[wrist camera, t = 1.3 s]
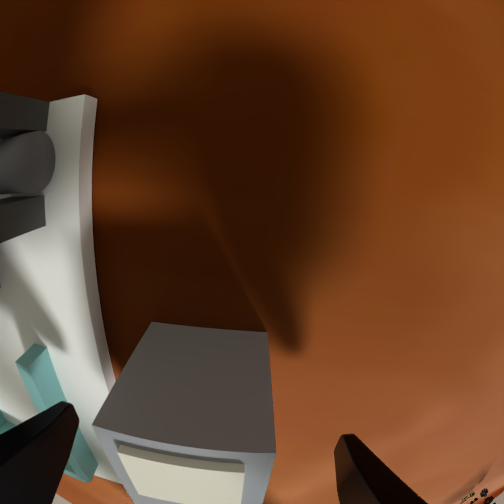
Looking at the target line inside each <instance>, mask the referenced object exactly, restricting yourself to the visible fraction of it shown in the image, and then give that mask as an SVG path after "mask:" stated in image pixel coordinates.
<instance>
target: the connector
mask: <svg viewBox="0 0 504 504" xmlns="http://www.w3.org/2000/svg"><path fill="white" fill-rule="evenodd" d="M92 427H93V429H94V431H95V434H96V436H97V438H98V440H99V442H100V444H101V446H102V448H103V450H104V452H105V454H106V456H107V458H108V460H109V462H110V463H111V465H112V467H113V469H114V471H115V472H116V474H117V476H118V478H119V479H120V481H121V483H122V484H123V486H124V488H125V489H126V491H127V493H128V494H129V496H130V497H131V499H132V500H133V502H134V503H135V504H262V503H263V500H264V497H265V493H266V490H267V486H268V482H269V479H270V475H271V471H272V468H273V464H274V460H275V456H276V442H275V428H274V413H273V399H272V385H271V372H270V358H269V345H268V332H255V331H239V330H226V329H214V328H203V327H193V326H184V325H175V324H166V323H158V322H151V324H150V325H149V327H148V328H147V330H146V332H145V333H144V335H143V337H142V338H141V340H140V342H139V343H138V345H137V346H136V348H135V350H134V351H133V353H132V355H131V356H130V358H129V360H128V362H127V363H126V365H125V367H124V368H123V370H122V372H121V373H120V375H119V377H118V379H117V380H116V382H115V384H114V386H113V387H112V389H111V391H110V393H109V394H108V396H107V398H106V400H105V401H104V403H103V405H102V407H101V409H100V410H99V412H98V414H97V416H96V418H95V419H94V421H93V423H92Z"/></svg>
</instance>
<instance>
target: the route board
mask: <svg viewBox="0 0 504 504" xmlns="http://www.w3.org/2000/svg"><path fill="white" fill-rule="evenodd" d="M97 100H98V99H97V98H94V97H91V96H89V95H86V94H84V95H79V96H74V97H69V98H65V99H60V100H56V101H52V102H48V101H44V100H39V99H35V98H30V97H25V96H21V95H16V94H10V93H5V92H0V410H1V412H2V413H3V415H4V417H5V418H6V420H7V421H9V422H11V423H13V424H14V425H16V426H17V425H19V424H20V423H22V422H24V421H26V420H28V419H30V418H31V417H33V416H35V415H37V414H39V413H38V411H37V409H36V407H35V405H34V403H33V401H32V399H31V397H30V395H29V393H28V391H27V389H26V387H25V385H24V382H23V380H22V378H21V375H20V373H19V371H18V368H17V366H16V363H15V361H16V360H17V359H18V358H19V357H20V356H22V355H23V354H24V353H25V352H26V351H27V350H28V349H29V348H30V347H31V346H32V345H33V344H34V343H35V344H38V345H41V346H44V347H47V349H48V352H49V355H50V358H51V361H52V364H53V367H54V370H55V372H56V375H57V378H58V380H59V383H60V386H61V388H62V391H63V393H64V396H65V398H66V400H67V402H69V403H71V404H73V406H74V408H75V410H76V412H77V415H78V417H79V429H80V431H81V433H82V435H83V437H84V439H85V441H86V442H87V444H88V446H89V448H90V450H91V452H92V453H93V455H94V457H95V459H96V461H97V462H98V464H99V465H98V467H97V469H96V471H95V474H94V475H96V476H99V477H101V478H104V479H107V480H111V481H114V482H117V483H120V484H122V483H121V481H120V479H119V478H118V476H117V474H116V472H115V471H114V469H113V467H112V465H111V463H110V462H109V460H108V458H107V456H106V454H105V452H104V450H103V448H102V446H101V444H100V442H99V440H98V438H97V436H96V434H95V431H94V429H93V427H92V423H93V421H94V419H95V418H96V416H97V414H98V412H99V410H100V409H101V407H102V405H103V403H104V401H105V400H106V398H107V396H108V394H109V393H110V391H111V389H112V387H113V386H114V384H115V382H116V380H115V376H114V372H113V368H112V364H111V359H110V355H109V350H108V345H107V341H106V335H105V330H104V325H103V319H102V313H101V306H100V300H99V293H98V285H97V276H96V267H95V256H94V243H93V225H92V157H93V140H94V127H95V117H96V108H97Z"/></svg>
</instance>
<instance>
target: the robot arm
mask: <svg viewBox="0 0 504 504" xmlns="http://www.w3.org/2000/svg"><path fill="white" fill-rule="evenodd" d="M78 427H79V417H78V415H77V412H76V410H75V408H74V406H73V404H71V403H69V402H66V401H60V402H58V403H57V404H55V405H53V406H51V407H50V408H48V409H46V410H44V411H42V412H41V413H39V414H37V415H35V416H33V417H31V418H30V419H28V420H26V421H24V422H22V423H20V424H19V425H17V426H15V427H13V428H11V429H9V430H7V431H5V432H4V433H2V434H0V504H52V502H53V499H54V496H55V493H56V491H57V488H58V485H59V483H60V480H61V477H62V475H63V472H64V470H65V467H66V465H67V462H68V460H69V457H70V454H71V451H72V447H73V444H74V440H75V437H76V433H77V430H78ZM334 457H335V469H336V482H337V492H338V497H339V502H340V504H428V503H426V502H425V501H424V500H423V499H422V498H421V497H420V496H418V495H417V494H416V493H415V492H414V491H413V490H412V489H411V488H410V487H408V486H407V485H406V484H405V483H404V482H403V481H402V480H401V479H400V478H399V477H398V476H397V475H396V474H395V473H394V472H392V471H391V470H390V469H389V468H388V467H387V466H386V465H385V464H384V463H383V462H382V461H381V460H380V459H379V458H378V457H377V456H376V455H375V454H374V453H373V452H372V451H371V450H370V449H369V448H368V447H367V446H366V445H365V444H364V443H363V442H362V441H361V440H360V439H359V438H358V437H357V436H356V435H354V434H343V435H341V436H340V438H339V441H338V443H337V445H336V447H335V450H334Z"/></svg>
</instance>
